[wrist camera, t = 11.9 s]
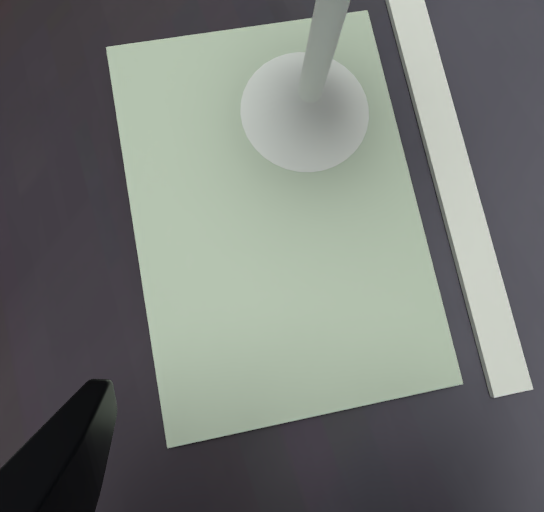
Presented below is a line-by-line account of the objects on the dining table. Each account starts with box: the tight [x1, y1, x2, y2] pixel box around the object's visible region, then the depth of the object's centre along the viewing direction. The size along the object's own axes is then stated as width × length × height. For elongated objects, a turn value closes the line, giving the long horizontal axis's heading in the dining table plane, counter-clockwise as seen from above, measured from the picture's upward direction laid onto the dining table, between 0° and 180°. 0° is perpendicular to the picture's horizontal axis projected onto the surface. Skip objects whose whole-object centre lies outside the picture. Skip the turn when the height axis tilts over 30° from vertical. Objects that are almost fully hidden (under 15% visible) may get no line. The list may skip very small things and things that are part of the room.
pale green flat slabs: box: [106, 0, 533, 448], centre depth 24 cm, size 22×18×1 cm
